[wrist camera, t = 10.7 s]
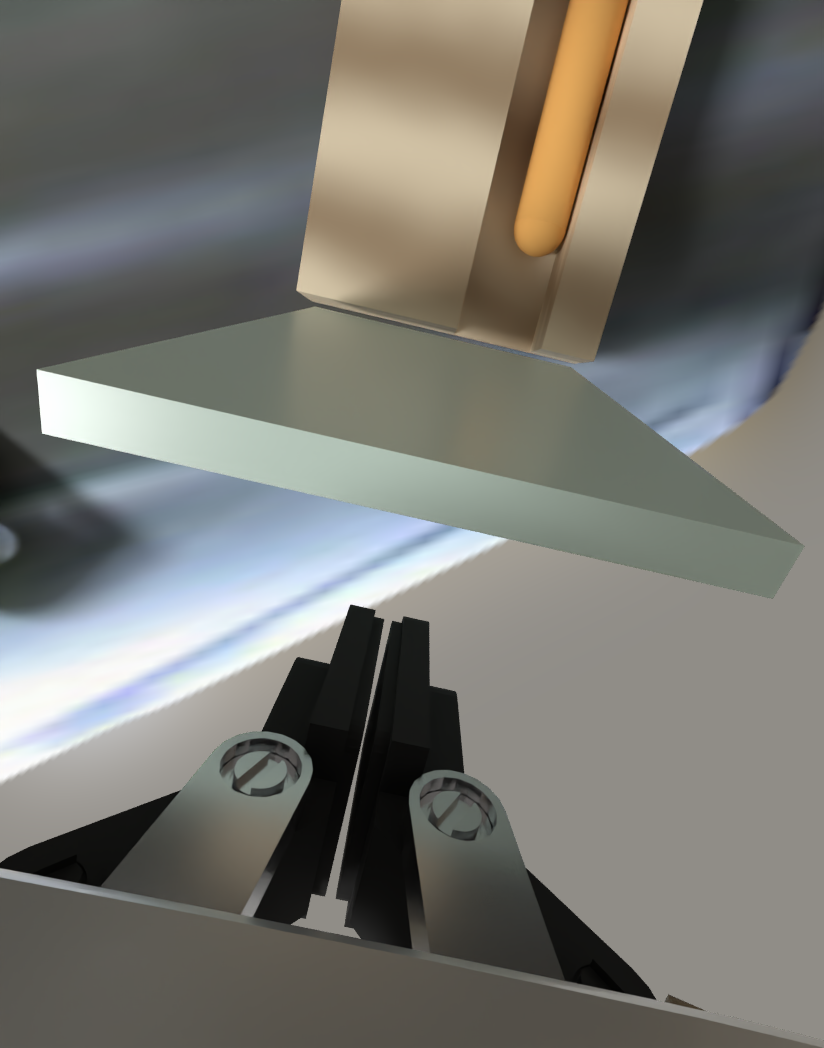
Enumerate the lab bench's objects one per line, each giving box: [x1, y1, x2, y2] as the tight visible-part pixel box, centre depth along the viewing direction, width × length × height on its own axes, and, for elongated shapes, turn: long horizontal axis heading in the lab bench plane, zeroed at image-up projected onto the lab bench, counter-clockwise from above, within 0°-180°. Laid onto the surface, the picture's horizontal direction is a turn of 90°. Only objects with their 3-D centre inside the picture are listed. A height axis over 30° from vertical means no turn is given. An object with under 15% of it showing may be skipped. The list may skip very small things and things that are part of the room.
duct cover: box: [37, 307, 805, 599], centre depth 17 cm, size 18×12×1 cm
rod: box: [514, 0, 628, 257], centre depth 23 cm, size 14×2×2 cm, turn 167°
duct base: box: [296, 0, 703, 364], centre depth 24 cm, size 20×14×4 cm
